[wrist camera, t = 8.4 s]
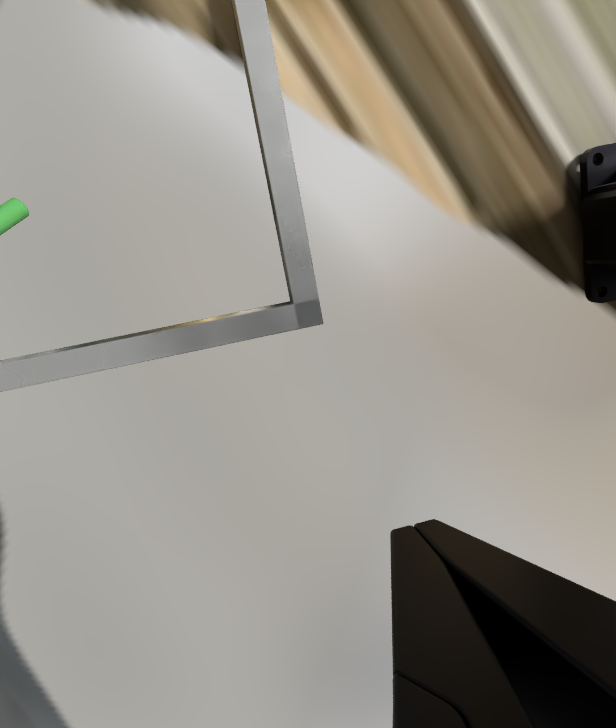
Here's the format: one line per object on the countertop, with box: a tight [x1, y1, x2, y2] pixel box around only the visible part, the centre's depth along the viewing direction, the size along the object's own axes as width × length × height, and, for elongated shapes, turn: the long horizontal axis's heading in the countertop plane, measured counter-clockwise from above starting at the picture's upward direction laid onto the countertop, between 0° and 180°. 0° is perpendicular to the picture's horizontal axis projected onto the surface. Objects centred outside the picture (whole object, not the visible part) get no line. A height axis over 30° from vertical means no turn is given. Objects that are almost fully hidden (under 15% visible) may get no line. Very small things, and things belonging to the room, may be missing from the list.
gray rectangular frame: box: [0, 0, 323, 392], centre depth 16 cm, size 18×15×1 cm
